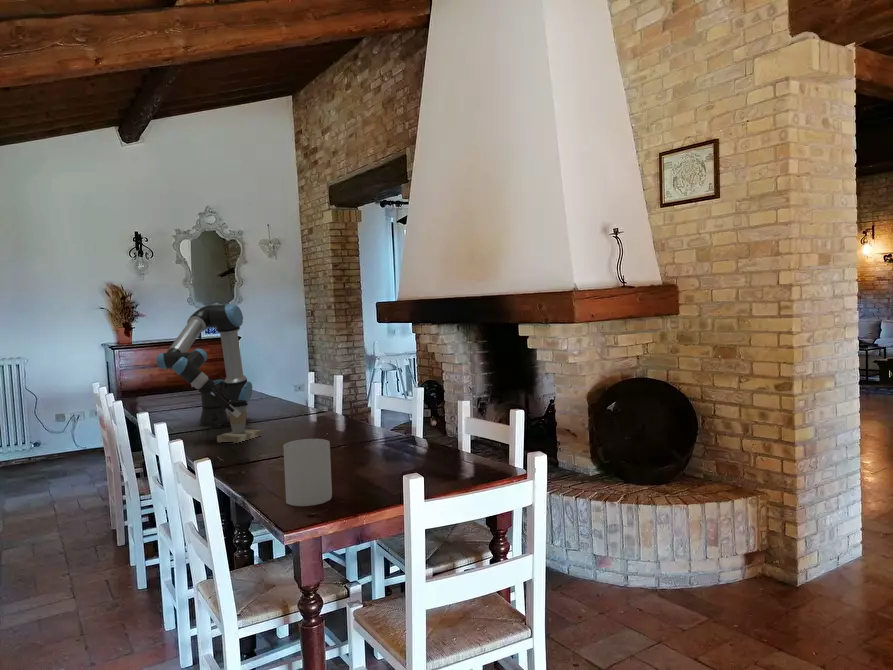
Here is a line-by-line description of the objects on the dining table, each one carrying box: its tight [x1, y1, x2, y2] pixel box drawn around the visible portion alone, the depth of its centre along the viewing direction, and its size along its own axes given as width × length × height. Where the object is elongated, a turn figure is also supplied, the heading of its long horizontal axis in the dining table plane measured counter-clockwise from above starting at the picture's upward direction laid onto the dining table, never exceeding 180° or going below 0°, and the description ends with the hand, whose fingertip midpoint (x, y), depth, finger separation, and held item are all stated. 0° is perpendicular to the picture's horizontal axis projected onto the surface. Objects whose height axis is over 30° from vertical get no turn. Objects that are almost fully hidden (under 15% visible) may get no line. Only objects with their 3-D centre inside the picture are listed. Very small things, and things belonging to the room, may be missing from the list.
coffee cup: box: [228, 400, 249, 434], centre depth 304 cm, size 9×9×15 cm
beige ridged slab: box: [216, 428, 262, 444], centre depth 304 cm, size 16×12×3 cm
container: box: [282, 438, 333, 507], centre depth 206 cm, size 14×14×18 cm
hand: (239, 413), depth 304 cm, fingers open, 13 cm apart
